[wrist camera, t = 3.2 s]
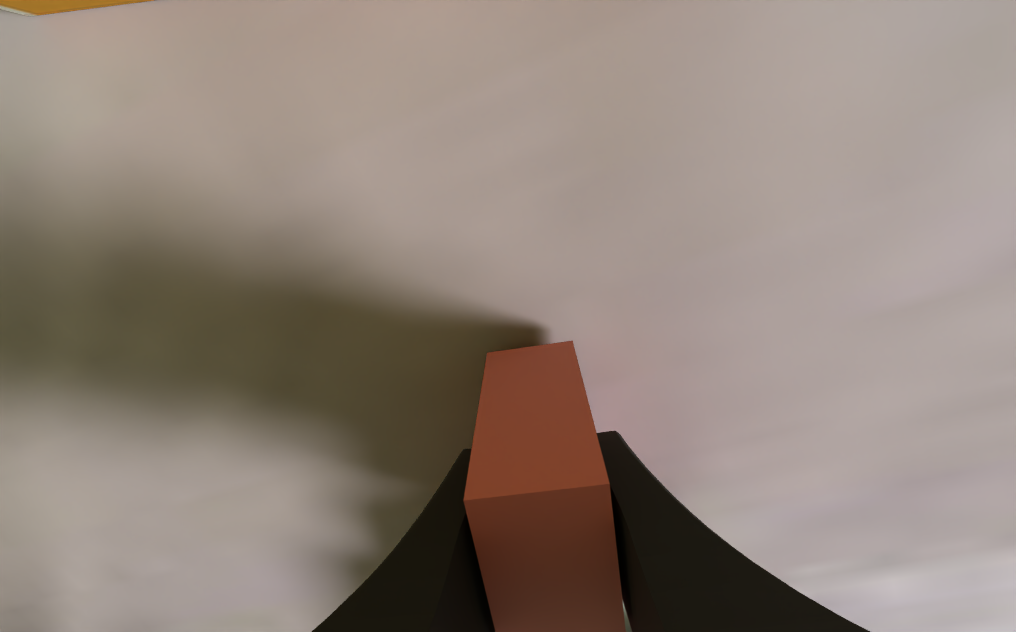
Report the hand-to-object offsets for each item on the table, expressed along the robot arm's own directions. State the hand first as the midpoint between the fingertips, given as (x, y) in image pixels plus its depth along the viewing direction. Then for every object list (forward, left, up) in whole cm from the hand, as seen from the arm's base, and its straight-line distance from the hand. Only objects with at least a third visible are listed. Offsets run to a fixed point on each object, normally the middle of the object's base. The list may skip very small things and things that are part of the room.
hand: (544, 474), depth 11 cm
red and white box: (-5, 0, -3) cm, 6 cm away
